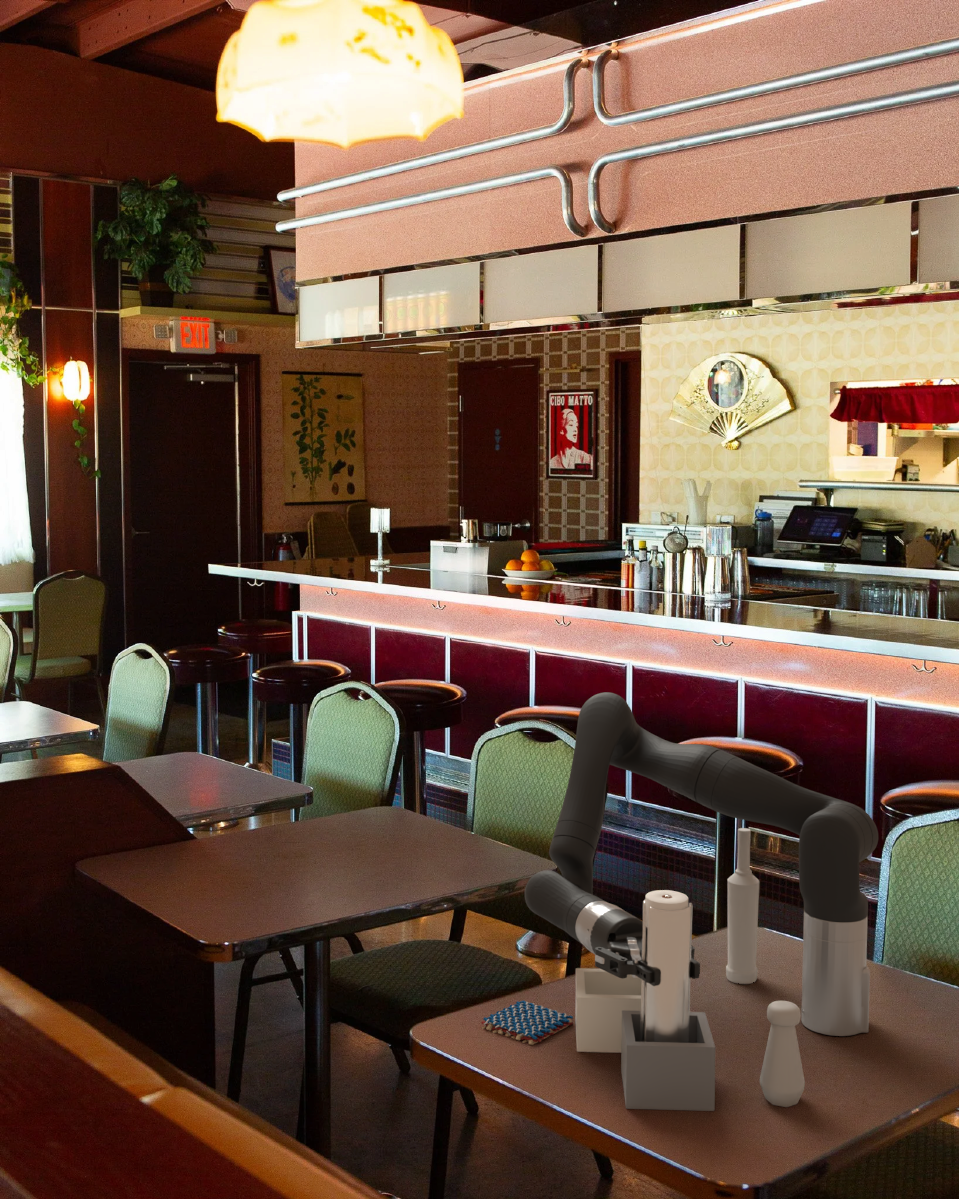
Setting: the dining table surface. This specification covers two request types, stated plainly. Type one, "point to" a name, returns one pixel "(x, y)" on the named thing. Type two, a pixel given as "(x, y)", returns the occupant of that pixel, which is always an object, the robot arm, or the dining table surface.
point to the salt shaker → (782, 1056)
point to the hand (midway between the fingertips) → (677, 974)
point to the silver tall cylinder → (666, 967)
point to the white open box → (603, 1008)
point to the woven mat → (527, 1022)
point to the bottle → (742, 916)
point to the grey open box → (668, 1068)
